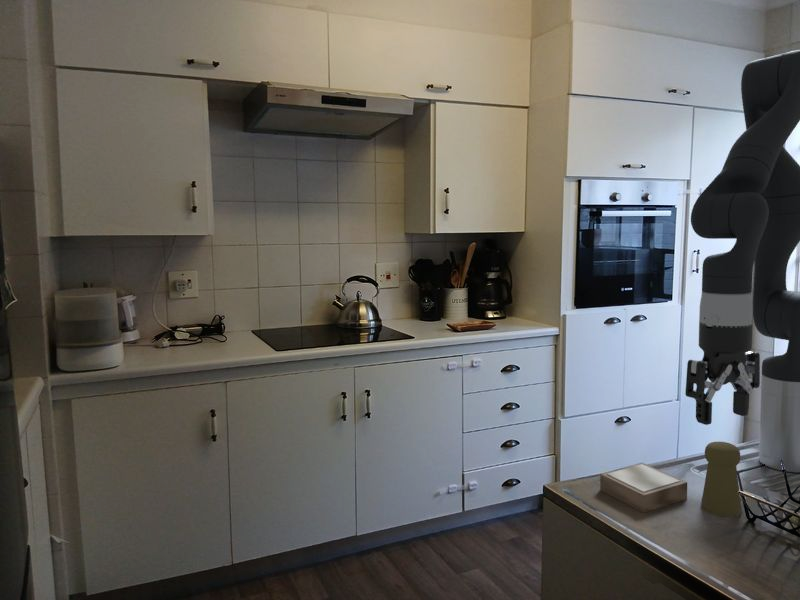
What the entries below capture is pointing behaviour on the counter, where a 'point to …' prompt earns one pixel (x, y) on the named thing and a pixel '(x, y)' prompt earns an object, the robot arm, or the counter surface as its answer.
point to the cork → (722, 480)
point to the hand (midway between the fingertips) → (722, 418)
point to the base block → (643, 487)
